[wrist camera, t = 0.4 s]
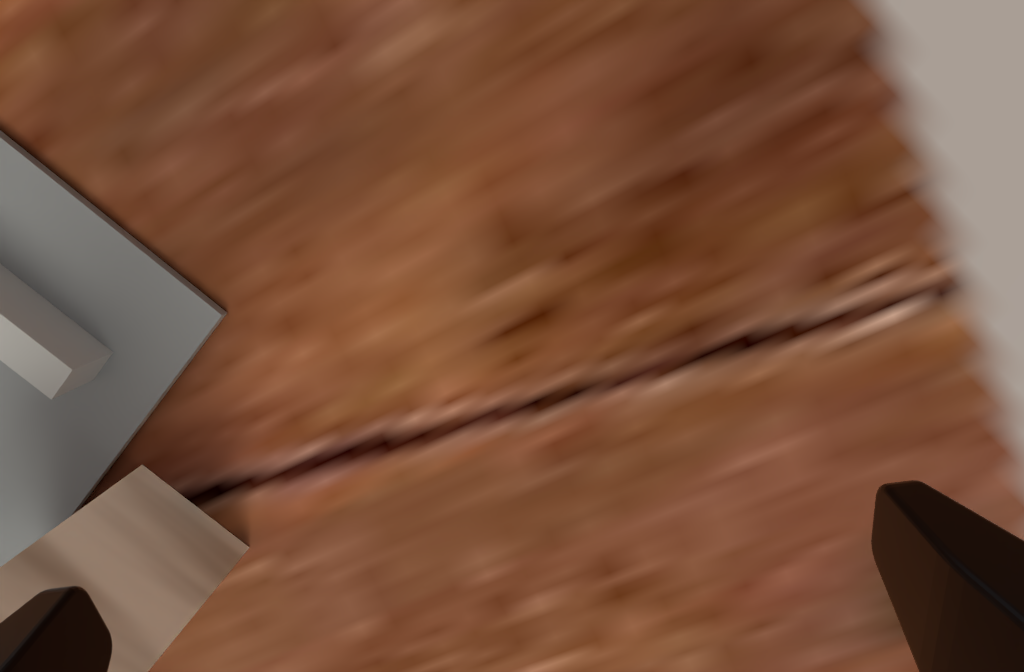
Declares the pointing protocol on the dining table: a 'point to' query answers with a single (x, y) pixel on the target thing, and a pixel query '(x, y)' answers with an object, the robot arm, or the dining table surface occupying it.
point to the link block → (130, 565)
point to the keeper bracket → (77, 345)
